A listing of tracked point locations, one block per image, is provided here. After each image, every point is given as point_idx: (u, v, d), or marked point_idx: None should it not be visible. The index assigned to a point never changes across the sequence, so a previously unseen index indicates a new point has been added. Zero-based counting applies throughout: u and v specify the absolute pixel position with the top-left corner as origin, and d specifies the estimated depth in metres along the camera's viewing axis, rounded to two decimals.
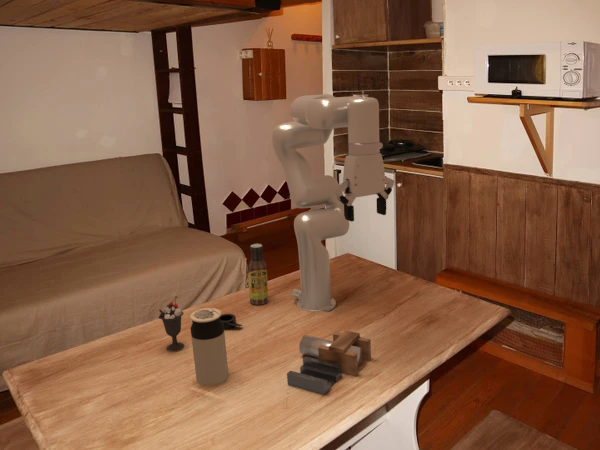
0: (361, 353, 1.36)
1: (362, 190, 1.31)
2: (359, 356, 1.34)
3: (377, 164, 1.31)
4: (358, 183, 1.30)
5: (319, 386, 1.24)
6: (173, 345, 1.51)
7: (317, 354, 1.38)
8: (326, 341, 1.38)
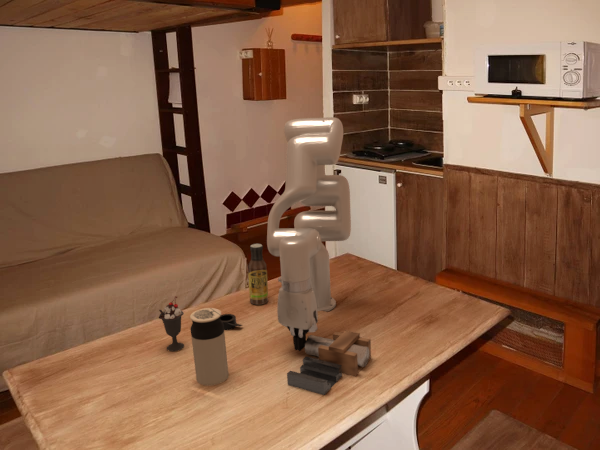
0: (367, 354, 1.36)
1: None
2: (365, 356, 1.34)
3: None
4: None
5: (319, 386, 1.24)
6: (173, 345, 1.51)
7: None
8: (333, 340, 1.39)
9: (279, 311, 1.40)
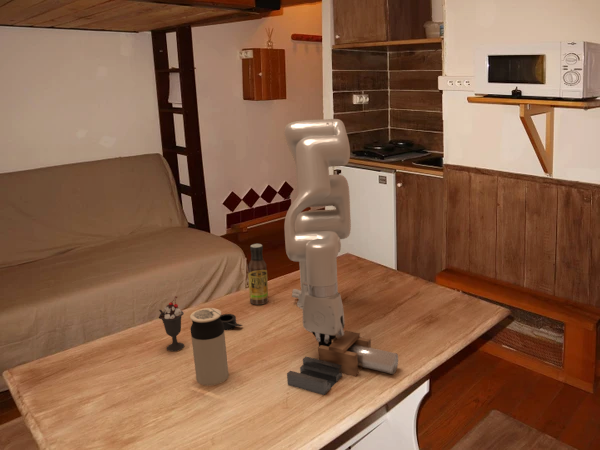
0: (396, 360, 1.32)
1: None
2: (394, 362, 1.30)
3: None
4: None
5: (319, 386, 1.24)
6: (173, 345, 1.51)
7: None
8: (360, 346, 1.35)
9: (304, 316, 1.36)
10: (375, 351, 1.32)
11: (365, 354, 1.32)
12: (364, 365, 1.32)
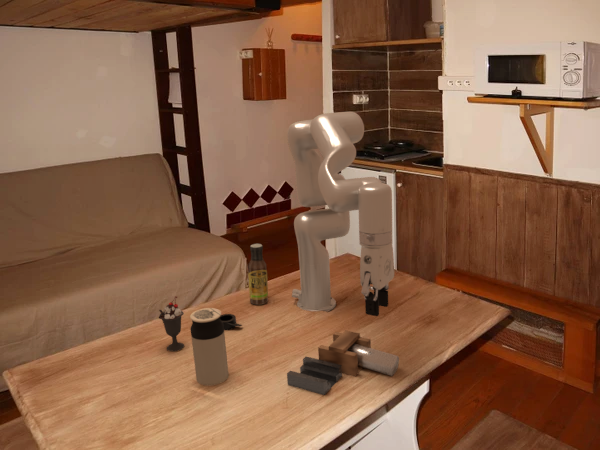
0: (397, 362, 1.32)
1: None
2: (395, 365, 1.30)
3: None
4: None
5: (319, 386, 1.24)
6: (173, 345, 1.51)
7: None
8: (362, 346, 1.35)
9: (380, 274, 1.21)
10: (377, 352, 1.32)
11: (366, 355, 1.32)
12: (364, 365, 1.32)
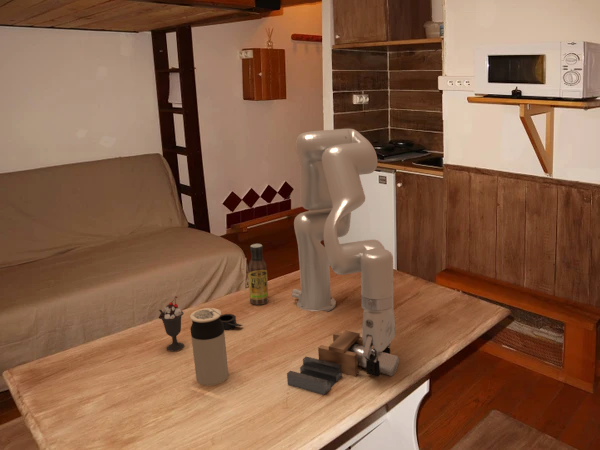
0: (397, 363, 1.32)
1: None
2: (394, 365, 1.30)
3: None
4: None
5: (319, 386, 1.24)
6: (173, 345, 1.51)
7: None
8: (362, 346, 1.35)
9: (381, 338, 1.25)
10: None
11: None
12: (364, 365, 1.32)
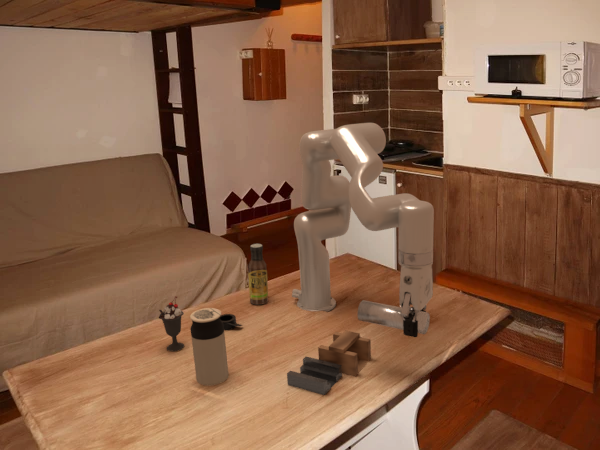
0: (428, 320, 1.24)
1: None
2: (426, 322, 1.23)
3: None
4: None
5: (319, 386, 1.24)
6: (173, 345, 1.51)
7: (378, 317, 1.26)
8: (389, 305, 1.27)
9: (420, 295, 1.17)
10: None
11: (395, 313, 1.24)
12: (393, 325, 1.25)
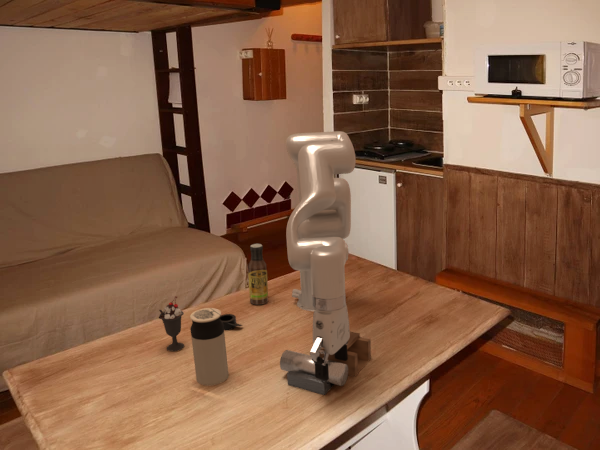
0: (346, 371, 1.26)
1: None
2: (343, 374, 1.25)
3: None
4: None
5: (319, 386, 1.24)
6: (173, 345, 1.51)
7: (298, 369, 1.28)
8: (309, 356, 1.29)
9: (332, 340, 1.19)
10: None
11: (313, 365, 1.27)
12: (313, 376, 1.27)
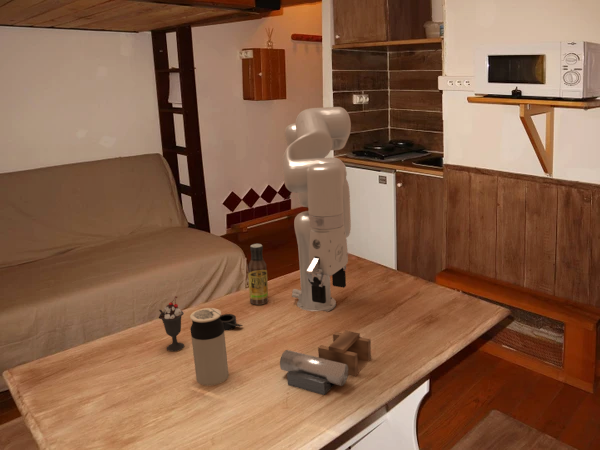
0: (346, 371, 1.26)
1: None
2: (343, 374, 1.25)
3: None
4: None
5: (319, 386, 1.24)
6: (173, 345, 1.51)
7: (298, 369, 1.28)
8: (309, 356, 1.29)
9: (329, 260, 1.14)
10: (324, 362, 1.27)
11: (313, 365, 1.27)
12: (313, 376, 1.27)
